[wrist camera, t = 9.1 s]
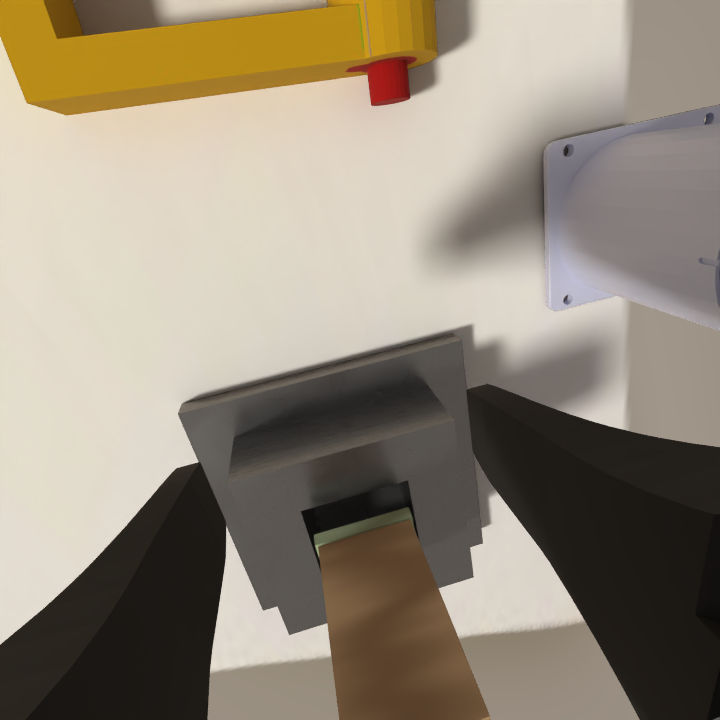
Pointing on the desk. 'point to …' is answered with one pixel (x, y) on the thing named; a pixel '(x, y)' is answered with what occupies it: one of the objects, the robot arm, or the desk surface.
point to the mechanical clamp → (214, 53)
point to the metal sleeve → (341, 466)
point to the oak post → (391, 627)
